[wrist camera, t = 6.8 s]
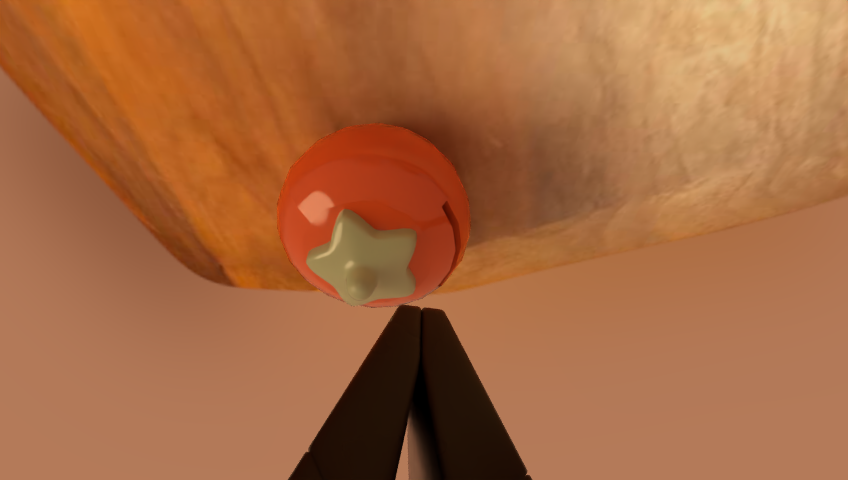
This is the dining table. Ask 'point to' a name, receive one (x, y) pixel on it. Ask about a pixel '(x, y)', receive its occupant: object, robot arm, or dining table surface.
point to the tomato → (374, 216)
